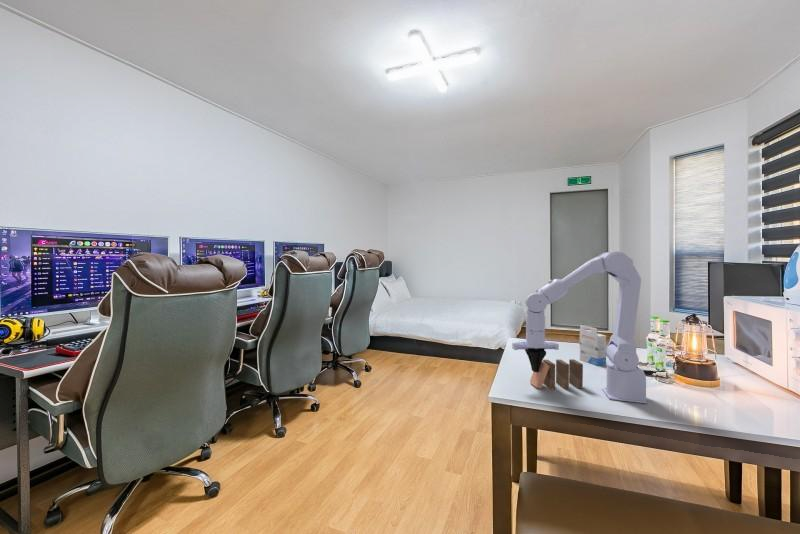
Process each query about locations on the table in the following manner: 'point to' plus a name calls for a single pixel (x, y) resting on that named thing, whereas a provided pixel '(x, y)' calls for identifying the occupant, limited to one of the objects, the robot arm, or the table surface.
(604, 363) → the ink box
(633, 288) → the robot arm
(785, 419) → the table surface
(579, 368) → the walnut domino
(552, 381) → the walnut domino
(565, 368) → the walnut domino
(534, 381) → the terracotta domino
